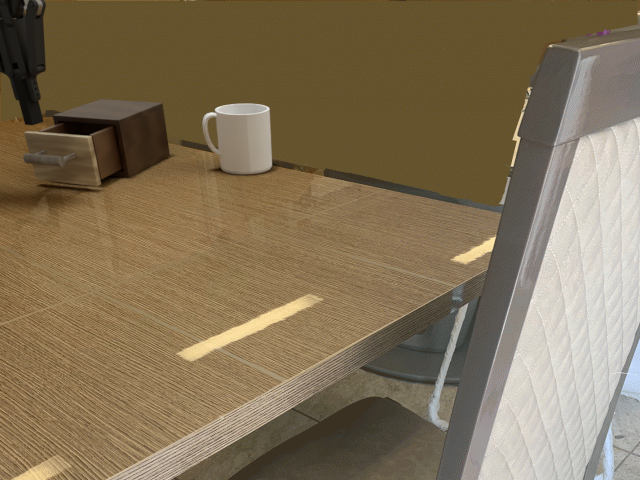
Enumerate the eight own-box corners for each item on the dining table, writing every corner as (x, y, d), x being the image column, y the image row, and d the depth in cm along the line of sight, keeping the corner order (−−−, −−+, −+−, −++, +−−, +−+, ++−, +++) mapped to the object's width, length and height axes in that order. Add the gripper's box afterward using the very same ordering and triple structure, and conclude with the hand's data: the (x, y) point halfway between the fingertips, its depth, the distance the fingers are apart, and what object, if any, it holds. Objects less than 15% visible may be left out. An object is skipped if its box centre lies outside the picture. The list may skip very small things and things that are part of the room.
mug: (267, 158, 128) (264, 102, 122) (276, 172, 121) (274, 113, 115) (204, 163, 126) (198, 105, 120) (210, 177, 118) (203, 117, 112)
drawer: (80, 194, 107) (69, 144, 103) (17, 188, 110) (4, 139, 106) (140, 164, 122) (133, 119, 118) (83, 158, 125) (74, 114, 121)
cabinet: (129, 177, 119) (118, 120, 113) (65, 171, 122) (52, 115, 116) (170, 155, 131) (162, 102, 125) (110, 150, 134) (101, 99, 128)
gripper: (-72, -61, 87) (-16, 125, 102) (8, -62, 84) (54, 131, 98) (-32, -61, 93) (15, 116, 107) (44, -62, 90) (83, 120, 104)
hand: (34, 123), depth 103 cm, fingers closed
